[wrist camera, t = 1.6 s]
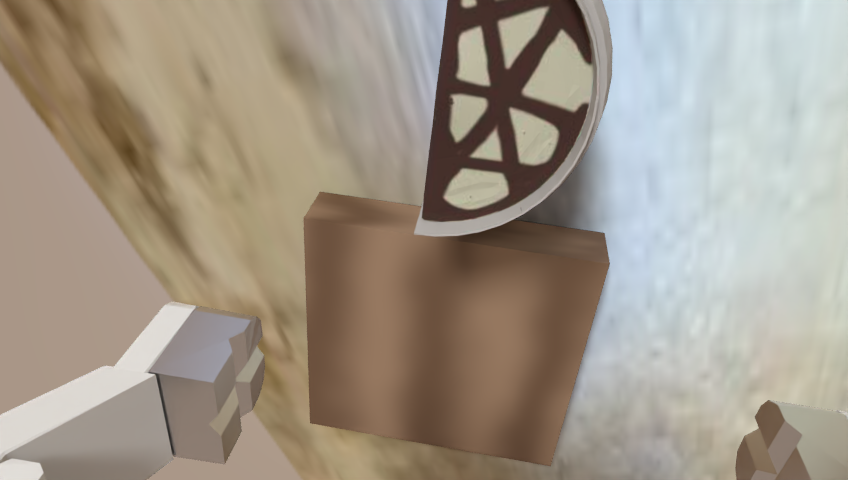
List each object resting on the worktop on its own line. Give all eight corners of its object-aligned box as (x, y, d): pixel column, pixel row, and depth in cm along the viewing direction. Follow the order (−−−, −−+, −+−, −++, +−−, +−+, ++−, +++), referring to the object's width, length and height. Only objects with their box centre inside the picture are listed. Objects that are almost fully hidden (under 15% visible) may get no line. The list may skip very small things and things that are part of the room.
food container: (561, 163, 32) (569, 273, 24) (444, 144, 33) (412, 246, 24) (628, -107, 26) (672, -84, 17) (480, -127, 26) (452, -113, 18)
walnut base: (604, 233, 34) (609, 263, 32) (549, 429, 43) (550, 465, 40) (320, 191, 35) (303, 218, 33) (323, 390, 44) (310, 423, 42)
